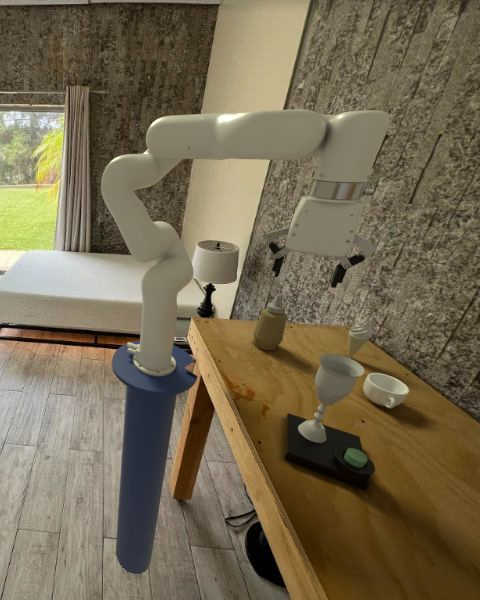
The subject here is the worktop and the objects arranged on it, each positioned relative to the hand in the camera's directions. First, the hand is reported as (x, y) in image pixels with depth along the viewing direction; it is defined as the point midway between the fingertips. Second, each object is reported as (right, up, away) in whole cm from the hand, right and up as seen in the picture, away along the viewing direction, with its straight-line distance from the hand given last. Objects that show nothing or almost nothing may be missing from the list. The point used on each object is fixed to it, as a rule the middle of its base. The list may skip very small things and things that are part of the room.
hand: (303, 280), depth 64 cm
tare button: (+7, -35, -4) cm, 35 cm away
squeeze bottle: (+14, -19, +37) cm, 44 cm away
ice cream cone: (+36, -22, +31) cm, 52 cm away
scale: (+5, -36, +2) cm, 36 cm away
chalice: (+4, -33, +4) cm, 33 cm away
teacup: (+29, -30, +14) cm, 44 cm away
